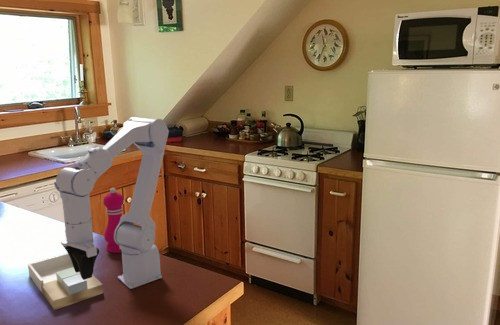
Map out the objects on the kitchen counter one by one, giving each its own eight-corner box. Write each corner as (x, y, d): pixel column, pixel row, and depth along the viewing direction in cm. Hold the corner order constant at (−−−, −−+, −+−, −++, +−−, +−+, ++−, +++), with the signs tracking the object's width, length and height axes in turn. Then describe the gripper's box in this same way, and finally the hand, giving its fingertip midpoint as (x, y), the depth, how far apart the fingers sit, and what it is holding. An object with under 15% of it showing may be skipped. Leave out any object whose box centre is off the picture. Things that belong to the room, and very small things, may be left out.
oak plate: (88, 278, 120) (87, 270, 119) (103, 293, 112) (102, 284, 112) (42, 293, 112) (41, 284, 112) (54, 310, 105) (53, 300, 104)
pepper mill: (120, 241, 143) (116, 183, 138) (134, 247, 139) (129, 187, 134) (100, 249, 138) (95, 188, 133) (114, 255, 133) (109, 193, 128)
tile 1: (74, 275, 116) (73, 266, 116) (80, 281, 113) (79, 273, 112) (57, 280, 113) (56, 272, 113) (62, 287, 110) (61, 278, 110)
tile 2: (81, 282, 113) (80, 273, 112) (87, 289, 109) (86, 280, 109) (63, 287, 110) (62, 279, 109) (69, 295, 107) (68, 286, 106)
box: (73, 262, 129) (72, 251, 128) (88, 278, 120) (87, 266, 119) (29, 275, 121) (27, 264, 120) (42, 293, 112) (40, 280, 111)
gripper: (49, 215, 102) (55, 268, 105) (71, 234, 91) (77, 292, 95) (80, 208, 107) (85, 259, 110) (104, 225, 96) (108, 282, 99)
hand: (83, 274), depth 103 cm, fingers open, 4 cm apart
